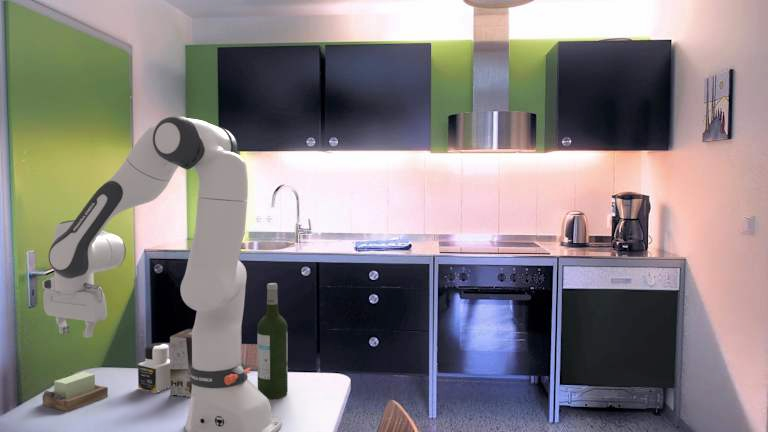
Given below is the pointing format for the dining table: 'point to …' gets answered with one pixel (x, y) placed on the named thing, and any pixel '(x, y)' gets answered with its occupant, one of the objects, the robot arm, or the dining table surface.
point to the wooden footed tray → (74, 399)
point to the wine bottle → (272, 349)
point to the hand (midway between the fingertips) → (76, 335)
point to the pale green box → (75, 385)
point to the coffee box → (181, 363)
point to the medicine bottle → (155, 368)
